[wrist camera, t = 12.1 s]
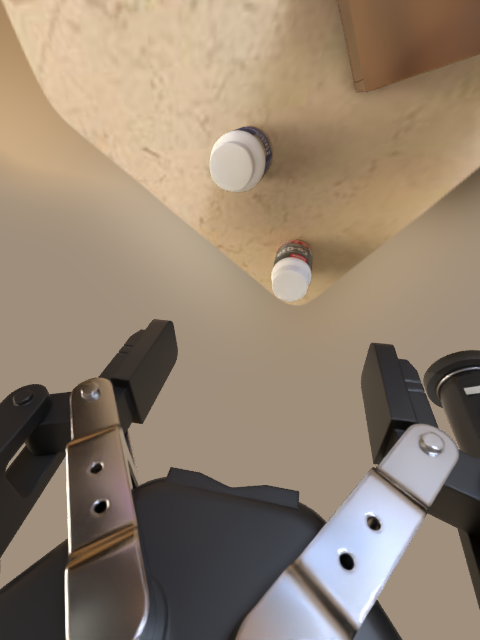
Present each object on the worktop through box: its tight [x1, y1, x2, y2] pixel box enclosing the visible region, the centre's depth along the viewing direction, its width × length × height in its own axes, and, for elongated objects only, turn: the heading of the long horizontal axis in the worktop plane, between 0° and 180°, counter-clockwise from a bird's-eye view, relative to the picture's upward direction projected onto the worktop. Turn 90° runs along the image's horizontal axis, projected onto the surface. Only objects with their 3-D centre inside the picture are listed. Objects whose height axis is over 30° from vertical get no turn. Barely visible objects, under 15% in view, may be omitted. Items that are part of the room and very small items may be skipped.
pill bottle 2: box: [271, 240, 312, 302], centre depth 38 cm, size 5×5×8 cm
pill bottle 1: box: [209, 126, 273, 192], centre depth 32 cm, size 5×5×10 cm
